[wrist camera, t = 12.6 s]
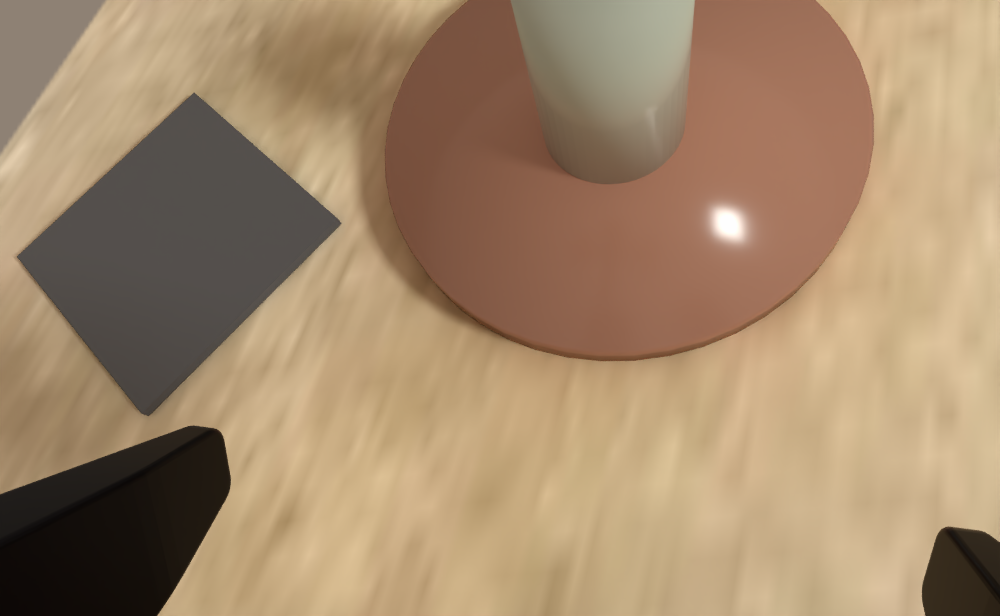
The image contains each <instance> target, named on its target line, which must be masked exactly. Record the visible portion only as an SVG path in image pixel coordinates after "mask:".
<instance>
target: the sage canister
mask: <svg viewBox="0 0 1000 616" xmlns="http://www.w3.org/2000/svg"><path fill="white" fill-rule="evenodd" d="M511 4H512V8H513V12H514V16H515V21H516V25H517V29H518V33H519V37H520V41H521V45H522V50H523V54H524V58H525V62H526V66H527V70H528V74H529V79H530V83H531V87H532V91H533V95H534V99H535V103H536V108H537V112H538V116H539V120H540V124H541V128H542V132H543V136H544V140H545V144H546V147H547V149H548V151H549V153H550V155H551V156H552V158H553V159H554V161H555V162H556V163H557V164H558V165H559V166H560V167H561V168H562V169H564V170H565V171H566V172H568V173H569V174H571V175H573V176H575V177H577V178H579V179H581V180H585V181H588V182H592V183H598V184H619V183H625V182H630V181H633V180H637V179H639V178H642V177H644V176H646V175H648V174H650V173H652V172H654V171H655V170H657V169H658V168H659V167H661V166H662V165H663V164H664V163H665V162H666V161H667V160H669V158H670V157H671V156H672V155H673V154H674V152H675V151H676V149H677V148H678V146H679V144H680V142H681V140H682V137H683V134H684V130H685V123H686V110H687V97H688V84H689V70H690V57H691V44H692V31H693V17H694V4H695V0H511Z"/></svg>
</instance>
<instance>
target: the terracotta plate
mask: <svg viewBox="0 0 1000 616" xmlns="http://www.w3.org/2000/svg"><path fill="white" fill-rule="evenodd" d="M873 145H874V115H873V109H872V103H871V97H870V91H869V86H868V83H867V81H866V78H865V75H864V72H863V69H862V66H861V63H860V61H859V59H858V57H857V55H856V53H855V51H854V49H853V48H852V46H851V44H850V42H849V40H848V38H847V37H846V35H845V34H844V33H843V31H842V30H841V29H840V27H839V26H838V25H837V23H836V22H835V21H834V19H833V18H832V17H831V15H830V14H829V13H828V12H827V11H826V10H825V9H824V8H823V7H822V6H821V5H820V4H819V3H818V2H817V1H816V0H695V4H694V17H693V31H692V44H691V57H690V70H689V84H688V97H687V110H686V123H685V130H684V134H683V137H682V140H681V142H680V144H679V146H678V148H677V149H676V151H675V152H674V154H673V155H672V156H671V157H670V158H669V160H667V161H666V162H665V163H664V164H663V165H662V166H661V167H659V168H658V169H657V170H655V171H654V172H652V173H650V174H648V175H646V176H644V177H642V178H639V179H637V180H633V181H630V182H625V183H619V184H598V183H592V182H588V181H585V180H581V179H579V178H577V177H575V176H573V175H571V174H569V173H568V172H566V171H565V170H564V169H562V168H561V167H560V166H559V165H558V164H557V163H556V162H555V161H554V159H553V158H552V156H551V155H550V153H549V151H548V149H547V147H546V144H545V140H544V136H543V132H542V128H541V124H540V120H539V116H538V112H537V108H536V103H535V99H534V95H533V91H532V87H531V83H530V79H529V74H528V70H527V66H526V62H525V58H524V54H523V50H522V45H521V41H520V37H519V33H518V29H517V25H516V21H515V16H514V12H513V8H512V4H511V0H468V1H467V2H466V3H465V4H464V5H463V6H461V7H460V8H459V9H458V10H457V11H456V12H455V13H453V14H452V15H451V16H450V17H449V18H448V19H447V20H446V21H445V22H444V23H443V25H442V26H441V27H440V28H439V29H438V30H437V31H436V32H435V33H434V34H433V35H432V37H431V38H430V39H429V41H428V42H427V43H426V45H425V46H424V47H423V49H422V50H421V52H420V53H419V54H418V56H417V57H416V59H415V60H414V62H413V64H412V66H411V68H410V69H409V71H408V73H407V75H406V76H405V78H404V80H403V83H402V85H401V88H400V90H399V92H398V95H397V97H396V100H395V102H394V106H393V110H392V113H391V117H390V121H389V125H388V130H387V139H386V148H385V171H386V182H387V188H388V193H389V199H390V203H391V206H392V209H393V212H394V215H395V218H396V221H397V224H398V227H399V229H400V231H401V233H402V235H403V236H404V238H405V240H406V242H407V244H408V246H409V248H410V250H411V251H412V253H413V254H414V256H415V257H416V258H417V260H418V261H419V263H420V264H421V265H422V267H423V268H424V269H425V271H426V272H427V273H428V275H429V276H430V277H431V279H432V280H433V281H434V283H435V284H436V286H437V287H438V288H439V289H440V290H441V291H442V292H443V293H444V294H445V295H446V296H447V297H448V298H449V299H450V300H451V301H452V302H453V303H454V304H455V305H456V306H457V307H459V308H460V309H461V310H463V311H464V312H465V313H467V314H468V315H469V316H471V317H472V318H473V319H475V320H476V321H477V322H479V323H480V324H482V325H483V326H485V327H487V328H489V329H491V330H492V331H494V332H496V333H498V334H500V335H502V336H503V337H505V338H507V339H510V340H512V341H515V342H518V343H520V344H523V345H525V346H528V347H530V348H533V349H536V350H539V351H544V352H548V353H552V354H556V355H560V356H564V357H569V358H578V359H587V360H596V361H636V360H643V359H650V358H657V357H664V356H671V355H674V354H678V353H682V352H685V351H689V350H693V349H697V348H700V347H704V346H706V345H709V344H711V343H714V342H716V341H718V340H721V339H723V338H726V337H728V336H731V335H733V334H736V333H737V332H739V331H741V330H743V329H744V328H746V327H748V326H750V325H751V324H753V323H755V322H757V321H758V320H760V319H762V318H764V317H765V316H767V315H768V314H769V313H771V312H772V311H773V310H775V309H776V308H777V307H779V306H780V305H781V304H783V303H784V302H785V301H787V300H788V299H789V298H791V297H792V296H793V295H794V294H795V293H796V292H797V291H798V290H799V289H800V288H801V287H802V286H803V285H804V284H805V283H806V282H807V281H808V280H809V279H810V278H811V277H812V276H813V275H814V274H815V273H816V271H817V270H818V269H819V267H820V266H821V265H822V263H823V262H824V261H825V259H826V258H827V257H828V255H829V254H830V253H831V251H832V250H833V249H834V247H835V245H836V244H837V242H838V240H839V238H840V236H841V235H842V233H843V231H844V229H845V227H846V225H847V223H848V222H849V220H850V218H851V216H852V214H853V212H854V210H855V208H856V207H857V205H858V203H859V200H860V197H861V194H862V191H863V188H864V185H865V183H866V180H867V177H868V174H869V168H870V162H871V156H872V150H873Z"/></svg>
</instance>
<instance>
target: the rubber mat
mask: <svg viewBox="0 0 1000 616" xmlns="http://www.w3.org/2000/svg"><path fill="white" fill-rule="evenodd" d="M340 224H341V222H340V221H339V220H338V219H337V218H336V217H335V216H334V215H333V214H332V213H330V212H329V211H328V210H327V209H326V208H325V207H324V206H323V205H321V204H320V203H319V202H318V201H317V200H316V199H315V198H313V197H312V196H311V195H310V194H309V193H308V192H307V191H305V190H304V189H303V188H302V187H301V186H300V185H299V184H298V183H296V182H295V181H294V180H293V179H292V178H291V177H290V176H288V175H287V174H286V173H285V172H284V171H283V170H282V169H280V168H279V167H278V166H277V165H276V164H275V163H274V162H273V161H271V160H270V159H269V158H268V157H267V156H266V155H265V154H263V153H262V152H261V151H260V150H259V149H258V148H257V147H255V146H254V145H253V144H252V143H251V142H250V141H249V140H248V139H246V138H245V137H244V136H243V135H242V134H241V133H240V132H238V131H237V130H236V129H235V128H234V127H233V126H232V125H230V124H229V123H228V122H227V121H226V120H225V119H224V118H223V117H221V116H220V115H219V114H218V113H217V112H216V111H215V110H213V109H212V108H211V107H210V106H209V105H208V104H207V103H205V102H204V101H203V100H202V99H201V98H200V97H199V96H197V95H196V94H195V93H193V94H192V95H191V96H190V97H189V98H188V99H187V100H186V101H185V102H183V103H182V104H181V105H180V106H179V107H178V108H177V109H176V110H175V111H174V112H173V113H172V114H171V115H169V116H168V117H167V118H166V119H165V120H164V121H163V122H162V123H161V124H160V125H159V126H158V127H156V128H155V129H154V130H153V131H152V132H151V133H150V134H149V135H148V136H147V137H146V138H145V139H143V140H142V141H141V142H140V143H139V144H138V145H137V146H136V147H135V148H134V149H133V150H132V151H131V152H129V153H128V154H127V155H126V156H125V157H124V158H123V159H122V160H121V161H120V162H119V163H118V164H116V165H115V166H114V167H113V168H112V169H111V170H110V171H109V172H108V173H107V174H106V175H105V176H104V177H102V178H101V179H100V180H99V181H98V182H97V183H96V184H95V185H94V186H93V187H92V188H91V189H89V190H88V191H87V192H86V193H85V194H84V195H83V196H82V197H81V198H80V199H79V200H78V201H77V202H75V203H74V204H73V205H72V206H71V207H70V208H69V209H68V210H67V211H66V212H65V213H64V214H62V215H61V216H60V217H59V218H58V219H57V220H56V221H55V222H54V223H53V224H52V225H51V226H50V227H48V228H47V229H46V230H45V231H44V232H43V233H42V234H41V235H40V236H39V237H38V238H37V239H35V240H34V241H33V242H32V243H31V244H30V245H29V246H28V247H27V248H26V249H25V250H24V251H23V252H21V253H20V254H19V255H18V256H17V257H18V259H19V260H20V261H21V262H22V264H23V265H24V266H25V268H26V269H27V270H28V271H29V273H30V274H31V275H32V276H33V278H34V279H35V280H36V281H37V283H38V284H39V285H40V286H41V288H42V289H43V290H44V291H45V293H46V294H47V295H48V296H49V298H50V299H51V300H52V302H53V303H54V304H55V305H56V307H57V308H58V309H59V310H60V312H61V313H62V314H63V315H64V317H65V318H66V319H67V320H68V322H69V323H70V324H71V325H72V327H73V328H74V329H75V331H76V332H77V333H78V334H79V336H80V337H81V338H82V339H83V341H84V342H85V343H86V344H87V346H88V347H89V348H90V349H91V351H92V352H93V353H94V354H95V356H96V357H97V358H98V359H99V361H100V362H101V363H102V365H103V366H104V367H105V368H106V370H107V371H108V372H109V373H110V375H111V376H112V377H113V378H114V380H115V381H116V382H117V383H118V385H119V386H120V387H121V388H122V390H123V391H124V392H125V394H126V395H127V396H128V397H129V399H130V400H131V401H132V402H133V404H134V405H135V406H136V407H137V409H138V410H139V411H140V412H141V414H144V415H147V416H149V415H150V414H151V413H152V412H153V411H154V410H155V409H156V408H157V407H158V406H159V405H160V404H161V403H162V402H163V401H164V400H165V399H166V398H167V397H168V396H169V395H170V394H171V393H172V392H173V391H174V390H175V389H176V388H177V387H178V386H179V385H180V384H181V383H182V382H183V381H184V380H185V379H186V378H187V377H188V376H189V375H190V374H191V373H192V372H193V371H194V370H195V369H196V368H197V367H198V366H199V365H200V364H201V363H202V362H203V361H204V360H205V359H206V358H207V357H208V356H209V355H210V354H211V353H212V352H213V351H214V350H215V349H216V348H217V347H218V346H219V345H220V344H221V343H222V342H223V341H224V340H225V339H226V338H227V337H228V336H229V335H230V334H231V333H232V332H233V331H234V330H235V329H236V328H237V327H238V326H239V325H240V324H241V323H242V322H243V321H244V320H245V319H246V318H247V317H248V316H249V315H250V314H251V313H252V312H253V311H254V310H255V309H256V308H257V307H258V306H259V305H260V304H261V303H262V302H263V301H264V300H265V299H266V298H267V297H268V296H269V295H270V294H271V293H272V292H273V291H274V290H275V289H276V288H277V287H278V286H279V285H280V284H281V283H282V282H283V281H284V280H285V279H286V278H287V277H288V276H289V275H290V274H291V273H292V272H293V271H294V270H295V269H296V268H297V267H298V266H299V265H300V264H301V263H302V262H303V261H304V260H305V259H306V258H307V257H308V256H309V255H310V254H311V253H312V252H313V251H314V250H315V249H316V248H317V247H318V246H319V245H320V244H321V243H322V242H323V241H324V240H325V239H326V238H327V237H328V236H329V235H330V234H331V233H332V232H333V231H334V230H335V229H336V228H337V227H338V226H339V225H340Z"/></svg>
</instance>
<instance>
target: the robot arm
mask: <svg viewBox="0 0 1000 616" xmlns="http://www.w3.org/2000/svg"><path fill="white" fill-rule="evenodd" d="M230 485H231V476H230V471H229V465H228V459H227V453H226V448H225V442H224V438H223V435H222V434H221V432H220V431H219V430H217V429H215V428H207V427H200V426H188V427H185V428H182V429H179V430H176V431H174V432H171V433H168V434H165V435H163V436H160V437H157V438H154V439H152V440H149V441H146V442H143V443H141V444H138V445H135V446H132V447H130V448H127V449H124V450H121V451H118V452H116V453H113V454H110V455H107V456H105V457H102V458H99V459H96V460H94V461H91V462H88V463H85V464H83V465H80V466H77V467H74V468H72V469H69V470H66V471H63V472H61V473H58V474H55V475H52V476H49V477H47V478H44V479H41V480H38V481H36V482H33V483H30V484H27V485H25V486H22V487H19V488H16V489H14V490H11V491H8V492H5V493H3V494H0V616H157V615H158V614H159V612H160V611H161V609H162V608H163V606H164V605H165V603H166V602H167V600H168V599H169V597H170V596H171V594H172V593H173V591H174V590H175V588H176V586H177V585H178V583H179V581H180V580H181V578H182V576H183V575H184V573H185V571H186V569H187V567H188V566H189V564H190V562H191V560H192V559H193V557H194V555H195V553H196V552H197V550H198V548H199V546H200V544H201V543H202V541H203V539H204V537H205V536H206V534H207V532H208V530H209V528H210V527H211V525H212V523H213V521H214V520H215V518H216V516H217V514H218V512H219V511H220V509H221V507H222V505H223V504H224V502H225V500H226V498H227V496H228V493H229V490H230ZM922 602H923V607H924V612H925V616H1000V542H999V541H997V540H996V539H994V538H993V537H992V536H990V535H989V534H987V533H985V532H983V531H979V530H971V529H963V528H956V527H945V528H943V529H941V530H940V532H939V533H938V535H937V537H936V540H935V543H934V547H933V550H932V553H931V557H930V560H929V563H928V567H927V570H926V574H925V577H924V580H923V585H922Z"/></svg>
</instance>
